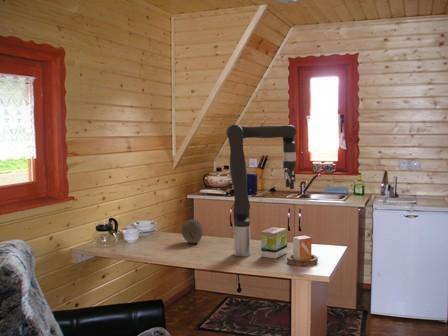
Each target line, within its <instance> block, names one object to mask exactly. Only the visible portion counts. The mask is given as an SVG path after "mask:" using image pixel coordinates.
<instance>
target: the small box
mask: <svg viewBox="0 0 448 336" xmlns="http://www.w3.org/2000/svg"><path fill="white" fill-rule="evenodd" d="M312 244H313V243H312V237H311V236H308V235H300V236H299V235H298V236H294V237H292V254H293V259H295V260H311V254H312Z"/></svg>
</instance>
